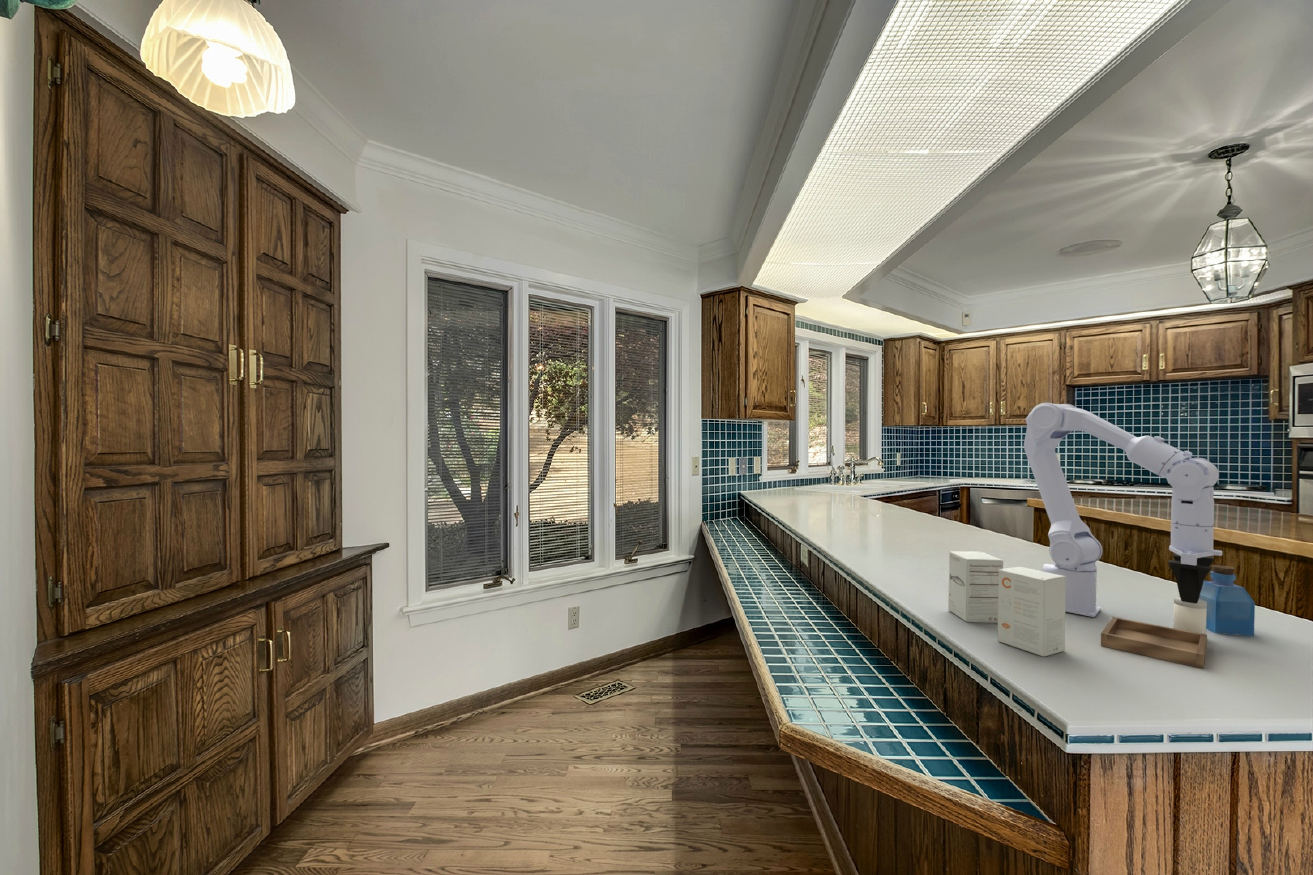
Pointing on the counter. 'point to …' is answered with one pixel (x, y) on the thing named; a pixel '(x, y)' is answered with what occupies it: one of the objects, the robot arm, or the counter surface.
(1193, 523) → the robot arm
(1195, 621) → the cylinder
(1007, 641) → the small box
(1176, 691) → the counter surface
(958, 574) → the supplement box
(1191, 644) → the walnut tray
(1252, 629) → the perfume bottle
